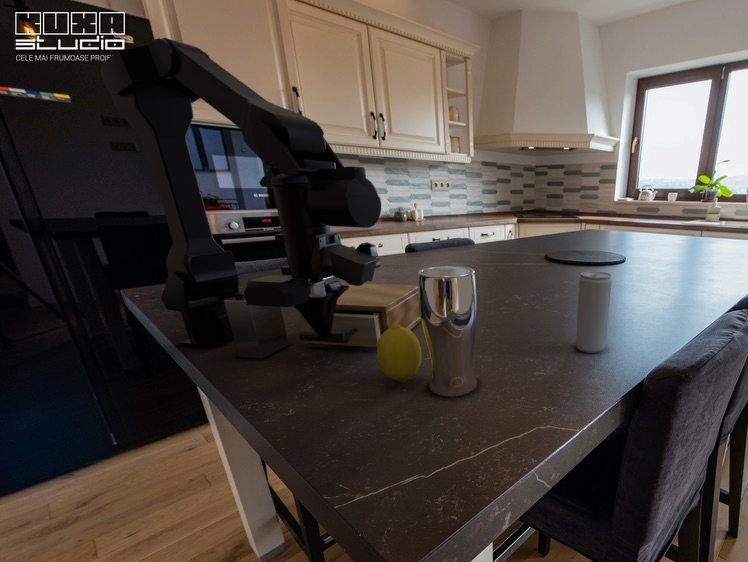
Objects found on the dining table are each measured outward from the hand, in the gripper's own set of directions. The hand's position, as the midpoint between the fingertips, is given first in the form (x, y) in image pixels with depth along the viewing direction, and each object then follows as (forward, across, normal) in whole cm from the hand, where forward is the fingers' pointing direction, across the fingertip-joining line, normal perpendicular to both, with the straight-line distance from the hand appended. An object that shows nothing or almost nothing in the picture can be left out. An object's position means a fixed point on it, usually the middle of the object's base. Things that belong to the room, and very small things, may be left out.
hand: (325, 338), depth 57 cm
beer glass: (+4, -4, -20) cm, 21 cm away
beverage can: (+4, +12, -38) cm, 40 cm away
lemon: (+4, -4, -13) cm, 14 cm away
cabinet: (+4, +15, +1) cm, 15 cm away
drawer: (+3, +9, +1) cm, 10 cm away
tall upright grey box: (+4, +3, +13) cm, 14 cm away
